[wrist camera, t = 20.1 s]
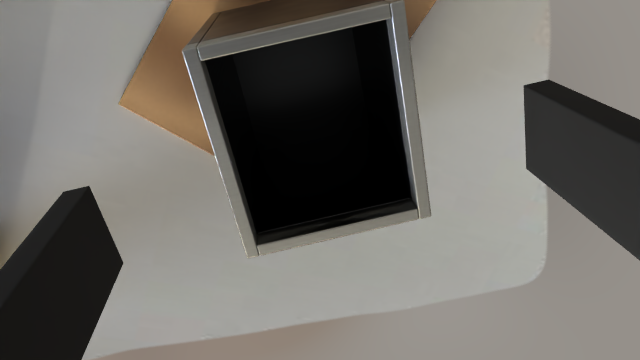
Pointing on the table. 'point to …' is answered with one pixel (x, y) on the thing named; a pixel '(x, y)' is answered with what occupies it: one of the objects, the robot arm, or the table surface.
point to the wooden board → (172, 74)
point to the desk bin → (311, 118)
